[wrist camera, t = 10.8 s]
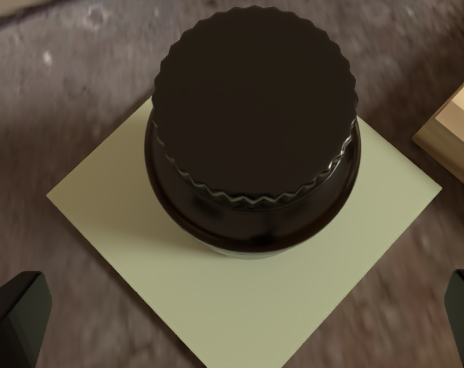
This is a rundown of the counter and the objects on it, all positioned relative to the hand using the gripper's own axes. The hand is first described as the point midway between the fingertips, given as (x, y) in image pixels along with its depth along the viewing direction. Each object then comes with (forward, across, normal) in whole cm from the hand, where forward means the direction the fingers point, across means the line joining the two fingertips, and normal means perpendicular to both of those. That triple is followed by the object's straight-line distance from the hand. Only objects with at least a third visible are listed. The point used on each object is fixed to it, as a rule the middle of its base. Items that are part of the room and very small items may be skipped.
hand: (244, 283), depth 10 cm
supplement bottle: (+11, 0, +5) cm, 12 cm away
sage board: (+12, 0, +5) cm, 13 cm away
